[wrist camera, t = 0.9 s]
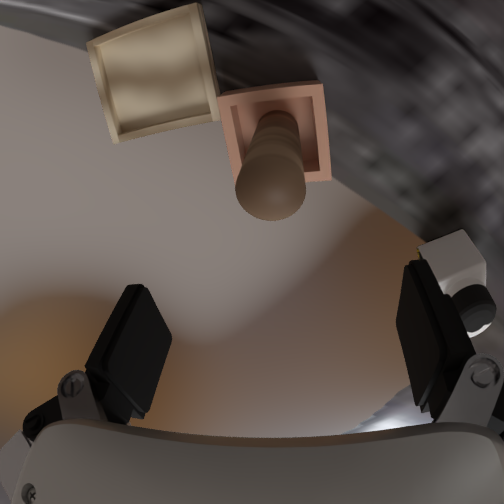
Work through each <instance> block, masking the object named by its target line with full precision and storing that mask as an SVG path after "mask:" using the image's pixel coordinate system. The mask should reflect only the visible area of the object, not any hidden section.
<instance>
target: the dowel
mask: <svg viewBox="0 0 504 504" xmlns="http://www.w3.org/2000/svg"><path fill="white" fill-rule="evenodd" d="M235 191H236V196H237V199H238V201H239V203H240V205H241V206H242V207H243V209H244V210H246V212H248V213H249V214H251V215H252V216H254V217H256V218H259V219H262V220H267V221H276V220H281V219H284V218H287V217H289V216H291V215H292V214H294V213H295V212H296V211H297V210H298V209H299V208H300V206H301V205H302V204H303V201H304V199H305V194H306V185H305V176H304V167H303V159H302V151H301V143H300V135H299V128H298V124H297V121H296V120H295V118H294V117H293V116H292V115H291V114H289V113H288V112H286V111H282V110H272V111H269V112H267V113H265V114H264V115H263V116H262V117H261V118H260V120H259V122H258V124H257V127H256V130H255V132H254V135H253V137H252V140H251V143H250V145H249V148H248V150H247V153H246V156H245V158H244V161H243V164H242V166H241V169H240V172H239V175H238V177H237V180H236V185H235Z"/></svg>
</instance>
